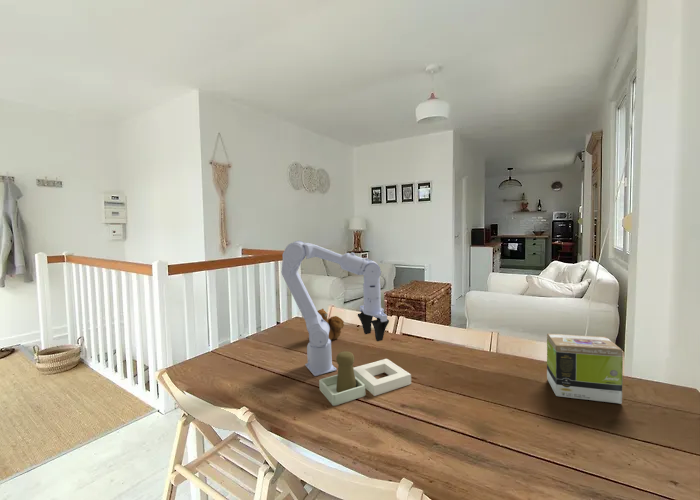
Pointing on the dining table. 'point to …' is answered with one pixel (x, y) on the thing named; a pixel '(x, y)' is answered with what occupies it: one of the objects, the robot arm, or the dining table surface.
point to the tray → (336, 398)
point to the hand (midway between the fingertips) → (373, 337)
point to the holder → (385, 384)
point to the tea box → (585, 367)
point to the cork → (345, 371)
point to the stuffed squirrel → (332, 324)
